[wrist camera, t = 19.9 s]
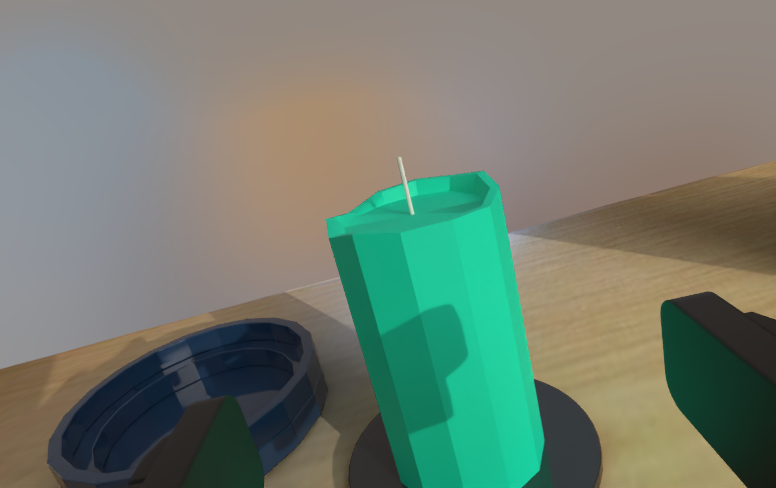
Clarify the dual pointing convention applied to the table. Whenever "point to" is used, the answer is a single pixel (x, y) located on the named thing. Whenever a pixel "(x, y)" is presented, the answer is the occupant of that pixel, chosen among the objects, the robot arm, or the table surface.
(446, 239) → the candle
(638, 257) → the table surface
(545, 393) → the coaster
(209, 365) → the dish
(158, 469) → the robot arm
